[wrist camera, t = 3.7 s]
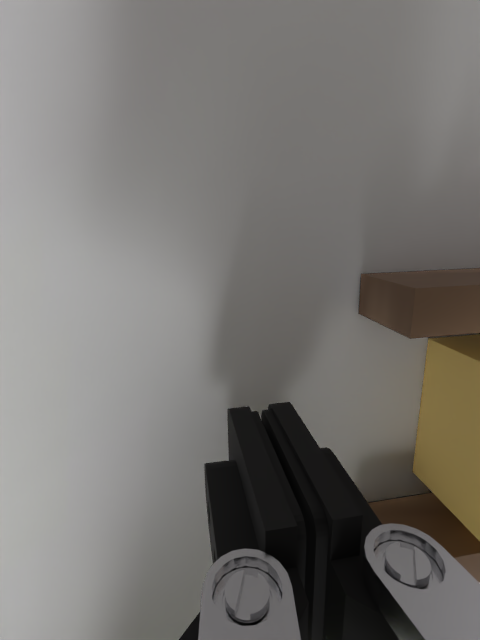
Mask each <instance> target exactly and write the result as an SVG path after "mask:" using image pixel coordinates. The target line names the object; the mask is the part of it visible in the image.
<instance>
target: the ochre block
mask: <svg viewBox="0 0 480 640" xmlns="http://www.w3.org/2000/svg"><path fill="white" fill-rule="evenodd" d="M413 473H414V474H415V475H416V476H417V477H418V478H419V479H420V480H421V481H422V482H423V483H424V484H425V485H426V486H427V487H428V488H429V489H430V490H431V491H432V492H433V493H434V494H435V496H436V497H437V498H438V499H439V500H440V501H441V502H442V503H443V504H444V505H445V506H446V507H447V508H448V509H449V510H450V511H451V512H452V513H453V514H454V515H455V516H456V517H457V518H458V519H459V520H460V521H461V522H462V524H463V525H464V526H465V527H466V528H467V529H468V530H469V531H470V532H471V533H472V534H473V535H474V536H475V537H476V538H477V539H478V540H479V541H480V334H476V335H464V336H452V337H440V338H428V345H427V354H426V362H425V370H424V379H423V387H422V396H421V404H420V413H419V421H418V429H417V438H416V446H415V455H414V463H413Z"/></svg>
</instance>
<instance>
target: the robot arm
mask: <svg viewBox="0 0 480 640" xmlns="http://www.w3.org/2000/svg"><path fill="white" fill-rule="evenodd" d="M228 443H229V461H221V462H213V463H206V464H205V465H204V468H205V488H206V503H207V514H208V524H209V533H210V542H211V550H212V559H213V564H212V566H211V567H210V569H209V571H208V572H207V574H206V576H205V579H204V583H203V587H202V596H201V609H200V613H199V614H198V615H197V617H196V618H195V619H194V621H193V622H192V623H191V624H190V626H189V627H188V628H187V630H186V631H185V632H184V634H183V635H182V636H181V638H180V639H179V640H480V583H479V582H478V581H477V580H476V579H475V578H474V577H473V576H472V575H471V574H470V573H469V572H468V571H467V570H466V569H465V568H464V567H463V566H462V565H461V564H460V563H459V562H458V561H456V560H455V559H454V558H453V557H452V556H451V555H450V554H449V553H448V552H447V551H446V550H445V549H444V548H443V547H442V546H441V545H440V544H439V543H438V542H436V541H435V540H434V539H433V538H432V537H430V536H429V535H427V534H425V533H423V532H422V531H420V530H418V529H416V528H413V527H409V526H406V525H403V524H392V523H390V524H384V525H383V524H382V523H381V522H380V520H379V519H378V517H377V516H376V514H375V513H374V511H373V510H372V508H371V507H370V506H369V504H368V503H367V501H366V500H365V498H364V497H363V495H362V494H361V492H360V491H359V490H358V488H357V487H356V485H355V484H354V482H353V481H352V479H351V478H350V477H349V475H348V474H347V472H346V471H345V469H344V468H343V466H342V465H341V463H340V462H339V461H338V459H337V458H336V456H335V455H334V453H333V452H332V451H331V450H330V449H329V448H319V446H318V445H317V443H316V441H315V440H314V438H313V437H312V435H311V434H310V432H309V431H308V429H307V427H306V426H305V424H304V423H303V421H302V420H301V418H300V417H299V415H298V414H297V412H296V410H295V409H294V407H293V406H292V404H291V403H290V402H286V403H277V404H269V407H268V410H263V411H262V421H261V419H260V416H259V414H258V412H257V411H253V412H251V411H250V408H249V407H240V408H230V409H228Z"/></svg>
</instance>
